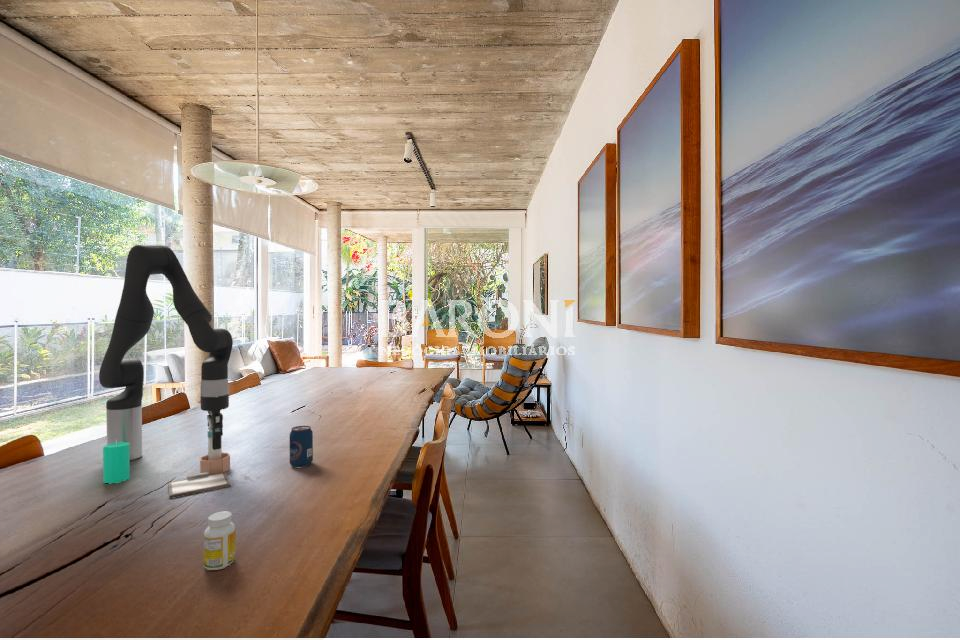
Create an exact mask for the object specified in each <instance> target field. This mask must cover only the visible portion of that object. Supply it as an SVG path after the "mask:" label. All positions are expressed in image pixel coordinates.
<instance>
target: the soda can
mask: <svg viewBox="0 0 960 640" xmlns="http://www.w3.org/2000/svg"><path fill="white" fill-rule="evenodd" d="M311 428H312V427H311V426H310V425H297V426H294V427H291V431H290V432H289V464H290V466H291V467H292V466H293V467H292V468H294V467H303V468H305V467H304V466H307V467H309V466H311V464H312V462H313V459H314V452H313V451H314V444H313V443H314V442H313V441H314V440H313V438H314V435H313V431H312V429H311ZM308 465H309V466H308Z"/></svg>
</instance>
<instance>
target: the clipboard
mask: <svg viewBox="0 0 960 640" xmlns="http://www.w3.org/2000/svg"><path fill="white" fill-rule="evenodd" d="M229 486H230V487H231V483H230V481H229V478H228V476H227V473H226V472H223V473H218V474H212V475H208V472H205V473H200V472H199V473H195V474H194V473H193V474H189V475H187V476H186V479H181V480H175V481H170V482H168V498H169V497H170V498H171V499H174V498H173V497H176V498H179V497H178V496H180V497H183V496H182V495H185V496H189V495H188V494H190V495H194V494H193V493H195V494H199V493H198V492H200V493H204V492H203V491H205V492H209V491H208V490H210V491H213V490H214V489H215V490H219V488H220V489H224V487H225V488H228V487H229ZM230 487H229V488H230ZM215 490H214V491H215ZM170 498H169V499H170Z"/></svg>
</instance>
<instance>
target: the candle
mask: <svg viewBox="0 0 960 640" xmlns="http://www.w3.org/2000/svg"><path fill="white" fill-rule="evenodd" d="M102 461H103V462H102V466H103V467H102V468H103V469H102V470H103V472H102V473H103V474H102V477H103V481H102V482H103V483H102V484H104V483H116V484H118V483H117V482H120V483H122V482H121V481H124V482H126V481H128V480H130V478H131V475H130V474H131V473H130V470H131V469H130V460H129V443H125V442H117V439H116V443H112V444H108V445H107V444H106V445H103V446H102ZM129 477H130V478H129ZM127 479H128V480H127ZM125 480H126V481H125Z"/></svg>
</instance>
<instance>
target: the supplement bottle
mask: <svg viewBox="0 0 960 640" xmlns="http://www.w3.org/2000/svg"><path fill="white" fill-rule="evenodd" d="M232 520H233V514H232V512H231V511H228V510H227V511H224V510H223V511H218V512H214V513H212V514H211V515H209V516H208V517H207V525H208V526H207V527H206V528H205V530H204V532H203V568H204V567H205V568H208V569H217V568H221V567H224V566H226V565H228V564H230V563H231V562H232V561H233V560H234V559H235V560H236V525H235V523H234V522H232ZM205 568H204V569H205Z"/></svg>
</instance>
